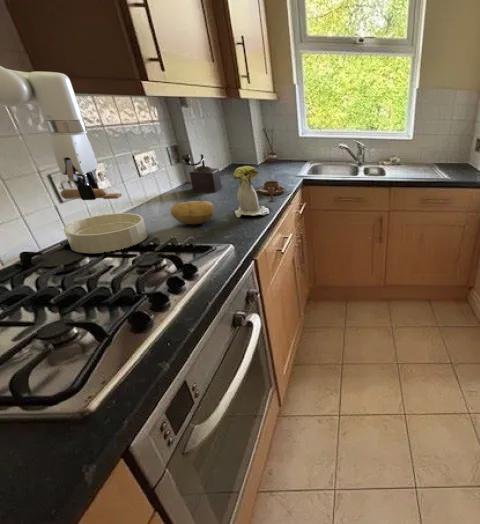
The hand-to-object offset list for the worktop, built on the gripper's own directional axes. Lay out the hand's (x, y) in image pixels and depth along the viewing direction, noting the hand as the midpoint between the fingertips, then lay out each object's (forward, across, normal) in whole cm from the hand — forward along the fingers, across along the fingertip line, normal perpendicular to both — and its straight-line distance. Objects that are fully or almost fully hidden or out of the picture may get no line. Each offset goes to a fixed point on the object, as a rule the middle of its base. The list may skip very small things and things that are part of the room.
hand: (91, 197), depth 92 cm
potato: (+15, -17, +21) cm, 31 cm away
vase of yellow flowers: (+15, -26, +40) cm, 50 cm away
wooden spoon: (0, 0, 0) cm, 0 cm away
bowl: (+15, -4, -1) cm, 16 cm away
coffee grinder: (+15, -63, +17) cm, 67 cm away
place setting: (+15, -52, +46) cm, 71 cm away
